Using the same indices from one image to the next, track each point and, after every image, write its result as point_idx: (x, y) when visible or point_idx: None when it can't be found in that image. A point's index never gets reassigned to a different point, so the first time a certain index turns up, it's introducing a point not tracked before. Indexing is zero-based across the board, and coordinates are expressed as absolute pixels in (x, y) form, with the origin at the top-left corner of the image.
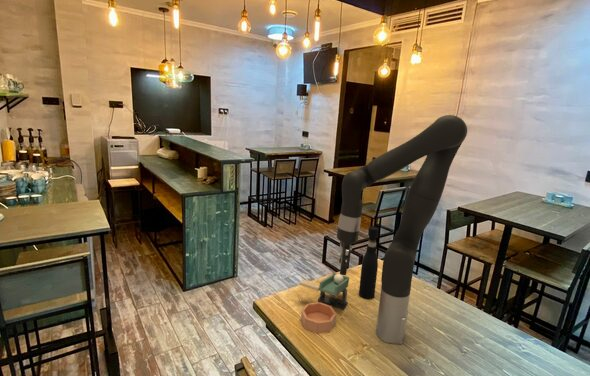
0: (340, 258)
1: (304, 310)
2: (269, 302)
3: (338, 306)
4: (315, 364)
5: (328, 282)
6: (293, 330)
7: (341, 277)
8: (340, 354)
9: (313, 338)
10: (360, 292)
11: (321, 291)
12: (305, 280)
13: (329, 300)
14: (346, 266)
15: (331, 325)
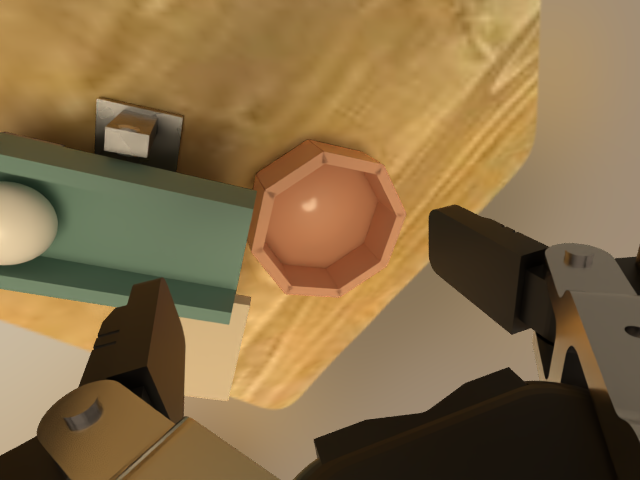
0: (183, 378)
1: (330, 286)
2: (259, 397)
3: (178, 149)
4: (515, 166)
5: (101, 273)
6: (384, 274)
7: (10, 209)
8: (474, 90)
9: (410, 202)
10: None
11: None
12: None
13: None
14: (534, 254)
15: (364, 156)
